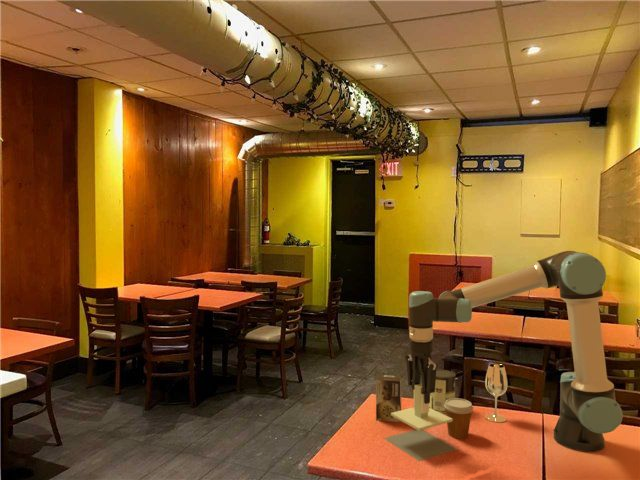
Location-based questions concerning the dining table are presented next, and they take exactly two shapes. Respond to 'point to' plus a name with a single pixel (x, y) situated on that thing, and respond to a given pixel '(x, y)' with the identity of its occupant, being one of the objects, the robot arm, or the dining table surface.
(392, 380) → the coffee box
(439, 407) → the coffee can
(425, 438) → the rubber mat
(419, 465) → the dining table surface
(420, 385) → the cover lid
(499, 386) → the wineglass
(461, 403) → the disposable coffee cup
